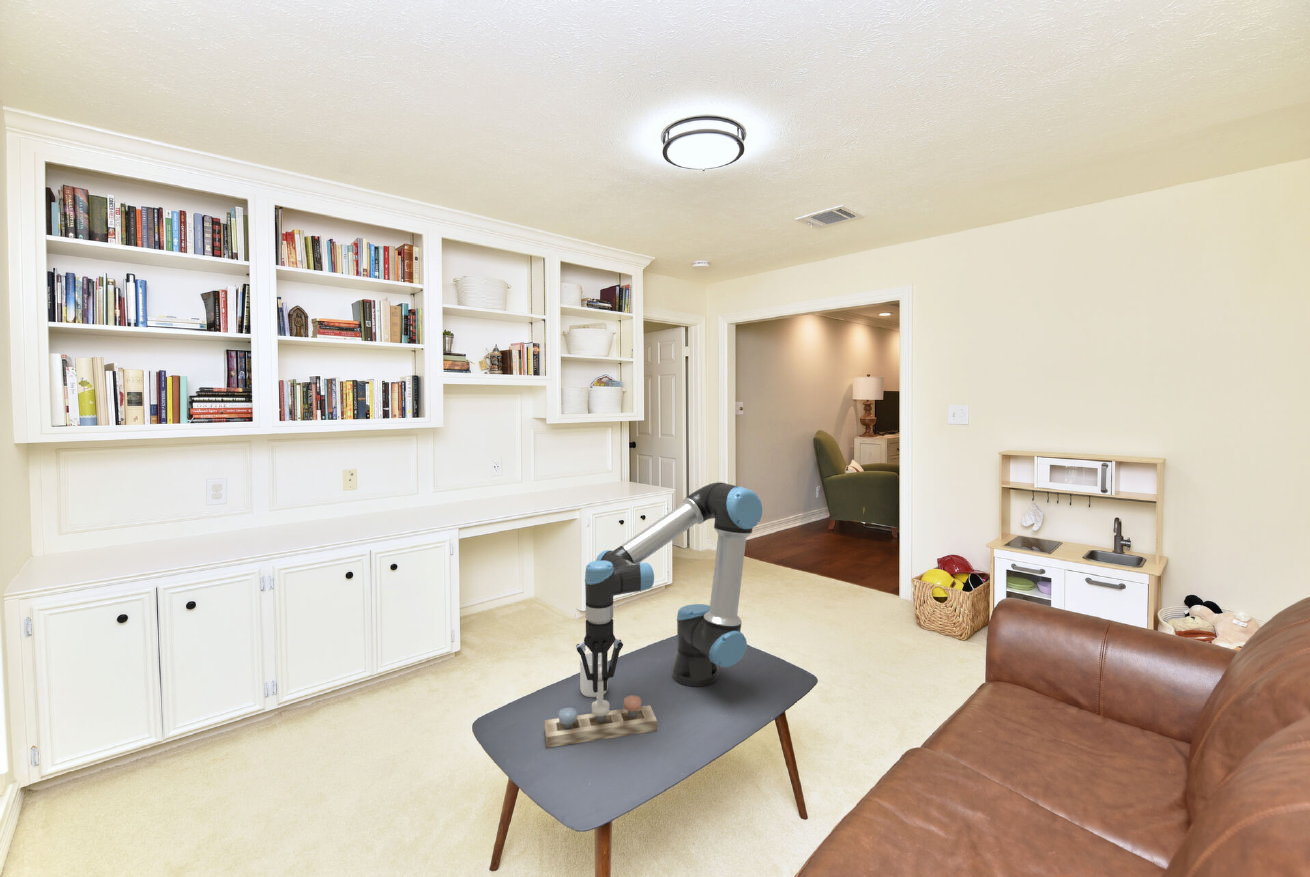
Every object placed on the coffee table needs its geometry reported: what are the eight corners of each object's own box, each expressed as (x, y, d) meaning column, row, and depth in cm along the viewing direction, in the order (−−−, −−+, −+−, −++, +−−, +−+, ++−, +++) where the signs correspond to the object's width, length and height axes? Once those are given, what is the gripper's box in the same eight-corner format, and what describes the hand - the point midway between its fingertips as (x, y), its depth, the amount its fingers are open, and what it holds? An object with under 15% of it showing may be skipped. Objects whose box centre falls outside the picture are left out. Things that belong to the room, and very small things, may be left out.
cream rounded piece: (607, 714, 163) (607, 698, 163) (610, 723, 159) (610, 707, 158) (590, 716, 162) (590, 701, 162) (593, 726, 157) (593, 710, 157)
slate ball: (575, 722, 161) (575, 706, 161) (577, 732, 156) (577, 716, 156) (558, 724, 160) (557, 709, 159) (559, 734, 155) (559, 718, 155)
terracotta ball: (639, 709, 165) (639, 694, 165) (642, 718, 161) (642, 703, 160) (622, 712, 164) (622, 696, 164) (625, 721, 160) (625, 705, 159)
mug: (594, 706, 173) (593, 671, 172) (575, 689, 183) (575, 656, 182) (618, 697, 178) (618, 663, 177) (599, 681, 188) (598, 649, 187)
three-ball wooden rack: (650, 715, 168) (650, 705, 168) (657, 730, 160) (657, 720, 160) (544, 730, 161) (544, 720, 160) (546, 747, 153) (546, 737, 153)
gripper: (620, 611, 163) (620, 692, 165) (573, 615, 160) (574, 698, 162) (625, 621, 156) (625, 706, 158) (577, 626, 153) (577, 712, 155)
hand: (599, 702), depth 160 cm, fingers closed
